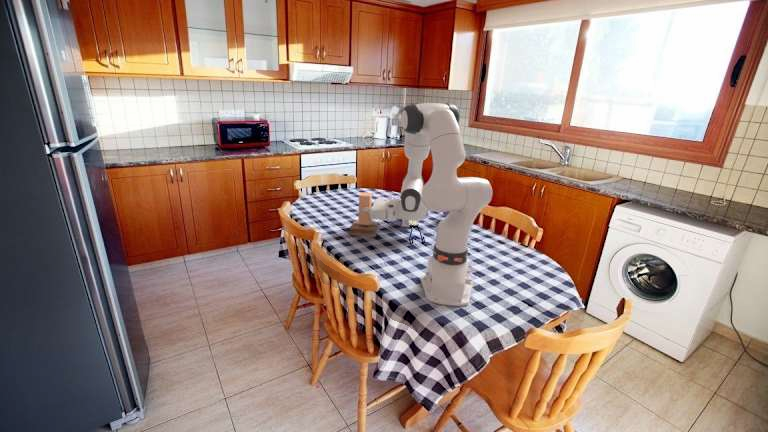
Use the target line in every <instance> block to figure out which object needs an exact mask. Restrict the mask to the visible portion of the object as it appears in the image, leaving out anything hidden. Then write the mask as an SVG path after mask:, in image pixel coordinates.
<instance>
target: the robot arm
mask: <svg viewBox="0 0 768 432" xmlns="http://www.w3.org/2000/svg"><path fill="white" fill-rule="evenodd" d="M400 113H401V114H400V124H401V127H402V130H403V131H404V132H405V133H404V140H403V141H404V143H403V150H404V156H405V157H406V158H407V159H408V165H407V172H406V174H405V176H404V177H403V179H402V184H401V185H402V186H401V190H400V194H399V195H400V199H391V198H390V199H387V198H383V197H381V198H376V199H375V201H372V204H371V208H368V207H364V206H363V207H362V211H366V212H368V213H370V217H371V219H374V220H378V221H379V220H381V221H386V222H392V221H394V220H402V219H406V220H412V221H415V222H418V221H425V220H426V218H427V216H428V214H429V213H428V212H429V211H431V212H437V213H439V212H440V213H443V212H448V211H450V213H449V214H448V215H447V216H446V217H444V218H443V219H441V220H440V221H439V222H438V224H437V226H436V235H435V243H434V245H433V249H432V251H433V252H432V256H430V257H429V258H428V260H427V266H426V273H425V275H421V277H420V282H421V285H422V289H423V292H424V295H425V296H424V297H425V298H426V300H427V301H429V302H431V303H435V304H439V305H444V306H453V307H462V306H463V307H464V306H467V305H469V304H470V299H471V297H472V296H471V295H472V291H473V286H474V282H473V281H472V278H470V277H469V275H471V271H472V270H471V269H470V265H471V263H470V262H469V261H468V254H469V250H468V249H469V248H468V243H469V238H470V233H471V232H470V231H471V228H472V226H473V224H474V222H475V219H476V218H477V217H478V215H479V214H480V212H481V211H482V210H483V209H484V208H485V207H486V206H487V205H489V203H491V201H492V198H493V188H492V184H491V183H490V181H488V179H486V178H482V177H474V176H464V177H458V175H457V173H458V172H457V170H458V168H459V167H460V166H461V165H463V164H464V162H465V160H466V157H467V154H466V150H465V145H464V141H463V137H462V133H461V128H460V126H459V123H460V112H459V109H458V107H457V106H456V105H455V104H452V103H448V102H445V103H439V102H433V103H431V102H422V103H417V104H415V103H414V104H413V103H412V104H408V105H406V106H404V108H403V109H402V110H401V112H400ZM430 152H431V157H432V171H431V175H430V177H429V179H428V180H427V182H426V183H425V180H424V178H423V174H422V172H423V171H422V169H423V163H424V160H426V159H427V158H428V157H429V154H430Z"/></svg>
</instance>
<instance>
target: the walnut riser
mask: <svg viewBox="0 0 768 432" xmlns="http://www.w3.org/2000/svg"><path fill="white" fill-rule="evenodd" d="M358 223H359V219H358V220H357V219H354V221H353V222H352V224H351V225H350V227H349V230H348V231H349V233H348V235H349V236H359V237H366V238H367V237H370V238H375V237H376V235H377V233H378V231H379V226H380V225H379V224H380V222H378V221H371V222H370V224H369V225H362V224H358Z"/></svg>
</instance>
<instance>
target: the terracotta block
mask: <svg viewBox="0 0 768 432" xmlns="http://www.w3.org/2000/svg"><path fill="white" fill-rule="evenodd" d="M372 197H373V193H372V192H361V193H359V197H358V220H359V223H358V224H362V225H369V224H370V222H372V218H371V217H370V213H368V212H366V211H362V207H363V206H364V207H368V208H372V207H371V204H372V202H373V198H372Z"/></svg>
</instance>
